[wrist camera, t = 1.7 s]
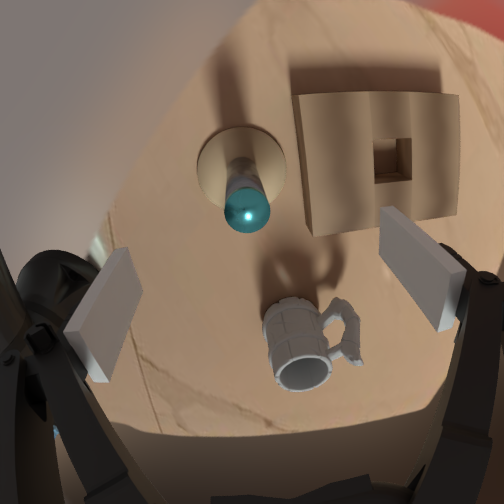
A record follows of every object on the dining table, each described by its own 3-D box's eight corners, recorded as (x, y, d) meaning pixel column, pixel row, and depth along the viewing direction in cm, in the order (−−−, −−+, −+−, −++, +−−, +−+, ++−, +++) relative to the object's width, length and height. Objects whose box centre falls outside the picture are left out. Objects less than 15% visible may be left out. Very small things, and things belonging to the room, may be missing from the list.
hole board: (305, 224, 35) (313, 237, 32) (291, 95, 29) (298, 95, 25) (440, 204, 35) (456, 215, 32) (441, 93, 28) (458, 95, 25)
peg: (229, 187, 32) (228, 236, 22) (224, 159, 31) (220, 194, 20) (258, 183, 32) (272, 229, 22) (254, 154, 31) (267, 186, 20)
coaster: (206, 218, 34) (206, 219, 34) (190, 135, 30) (189, 136, 30) (290, 204, 34) (290, 206, 33) (279, 121, 30) (280, 121, 29)
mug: (249, 314, 40) (255, 387, 30) (331, 266, 38) (365, 332, 27) (279, 348, 43) (292, 418, 33) (355, 306, 41) (387, 371, 30)
